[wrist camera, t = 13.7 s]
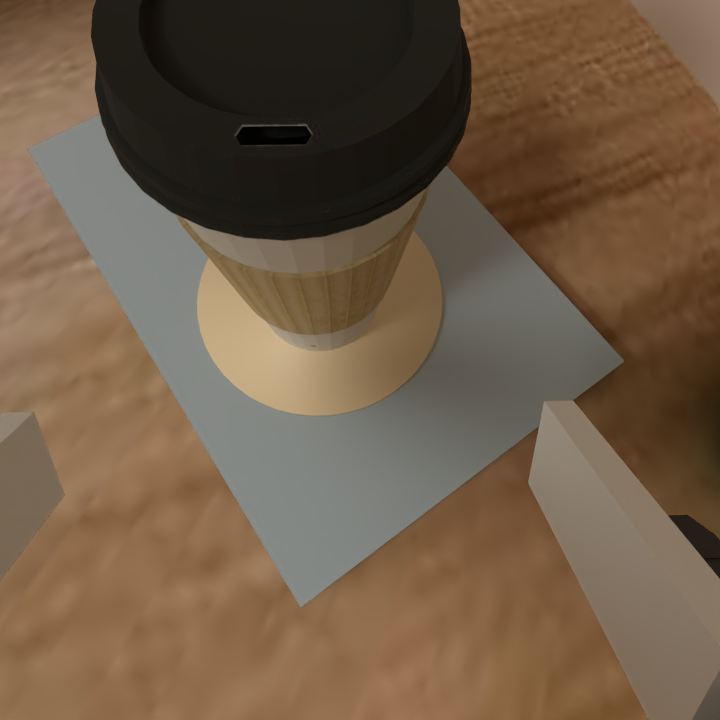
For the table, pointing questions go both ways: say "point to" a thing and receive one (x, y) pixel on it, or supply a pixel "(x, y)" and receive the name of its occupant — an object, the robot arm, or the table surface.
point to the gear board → (338, 363)
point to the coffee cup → (288, 139)
